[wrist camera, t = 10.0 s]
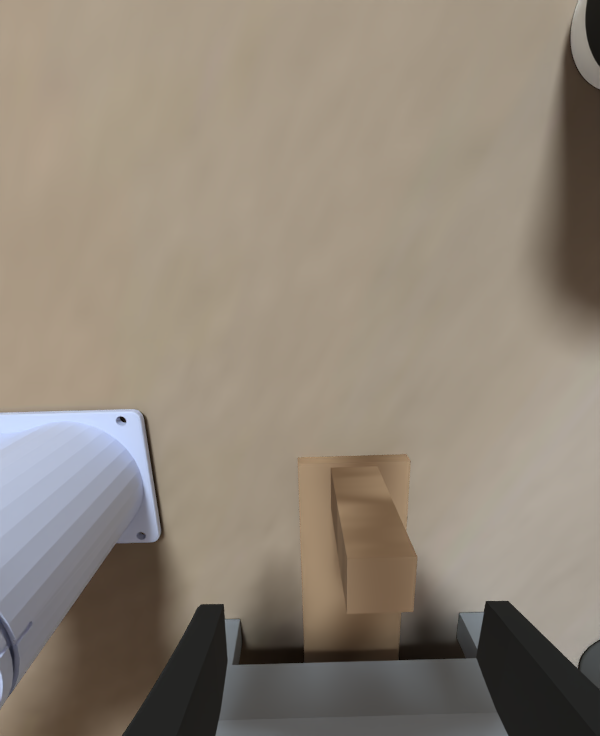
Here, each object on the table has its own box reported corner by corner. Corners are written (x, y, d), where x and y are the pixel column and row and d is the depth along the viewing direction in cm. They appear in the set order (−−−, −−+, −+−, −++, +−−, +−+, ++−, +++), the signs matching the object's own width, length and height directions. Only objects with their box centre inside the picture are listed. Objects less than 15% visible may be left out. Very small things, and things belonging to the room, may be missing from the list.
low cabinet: (221, 724, 23) (201, 840, 18) (208, 619, 21) (181, 721, 16) (474, 717, 23) (520, 831, 18) (490, 611, 21) (549, 711, 16)
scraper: (306, 730, 24) (310, 902, 17) (297, 456, 18) (298, 554, 12) (390, 728, 24) (425, 899, 17) (405, 453, 18) (466, 549, 12)
